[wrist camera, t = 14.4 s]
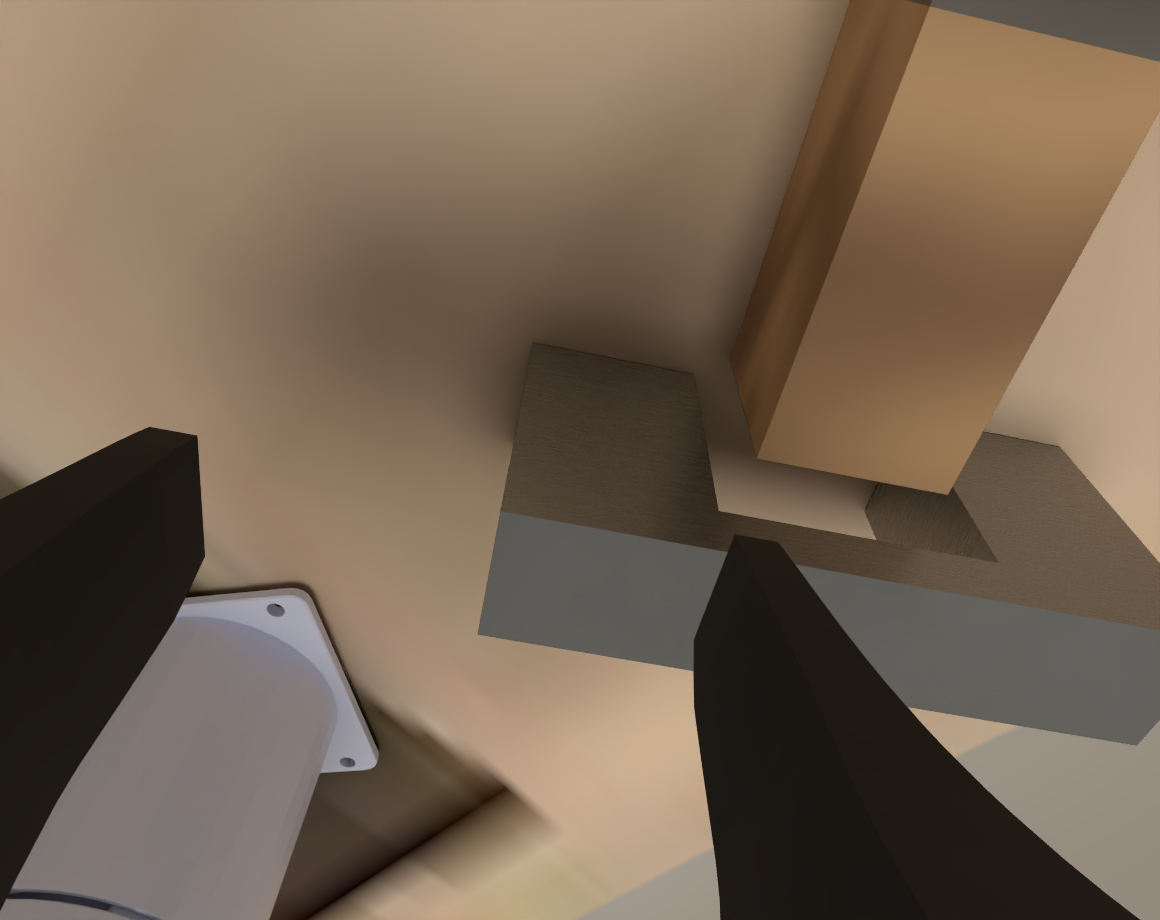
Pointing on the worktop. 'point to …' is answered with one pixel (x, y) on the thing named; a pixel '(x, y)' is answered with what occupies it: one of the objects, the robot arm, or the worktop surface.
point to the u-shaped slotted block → (826, 559)
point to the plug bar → (936, 224)
